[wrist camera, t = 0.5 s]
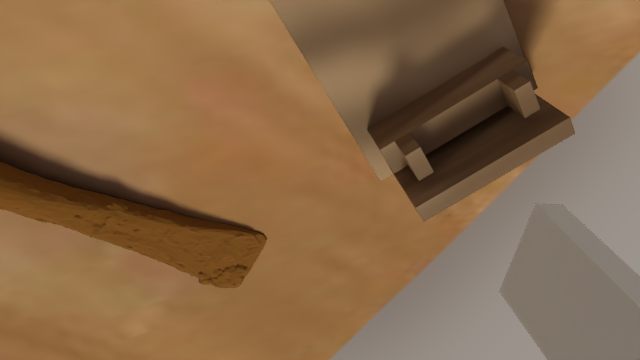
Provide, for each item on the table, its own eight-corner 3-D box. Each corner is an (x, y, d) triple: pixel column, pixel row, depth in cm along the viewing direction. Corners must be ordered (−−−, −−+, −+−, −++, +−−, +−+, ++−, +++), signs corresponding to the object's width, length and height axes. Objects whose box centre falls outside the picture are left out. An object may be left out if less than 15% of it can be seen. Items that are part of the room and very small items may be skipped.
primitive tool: (269, 232, 40) (274, 262, 37) (237, 287, 42) (239, 320, 39) (-21, 133, 33) (-44, 160, 30) (-43, 205, 35) (-66, 237, 32)
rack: (207, -101, 28) (209, -93, 23) (408, -238, 27) (466, -268, 21) (376, 174, 39) (408, 230, 33) (528, 83, 37) (591, 124, 31)
